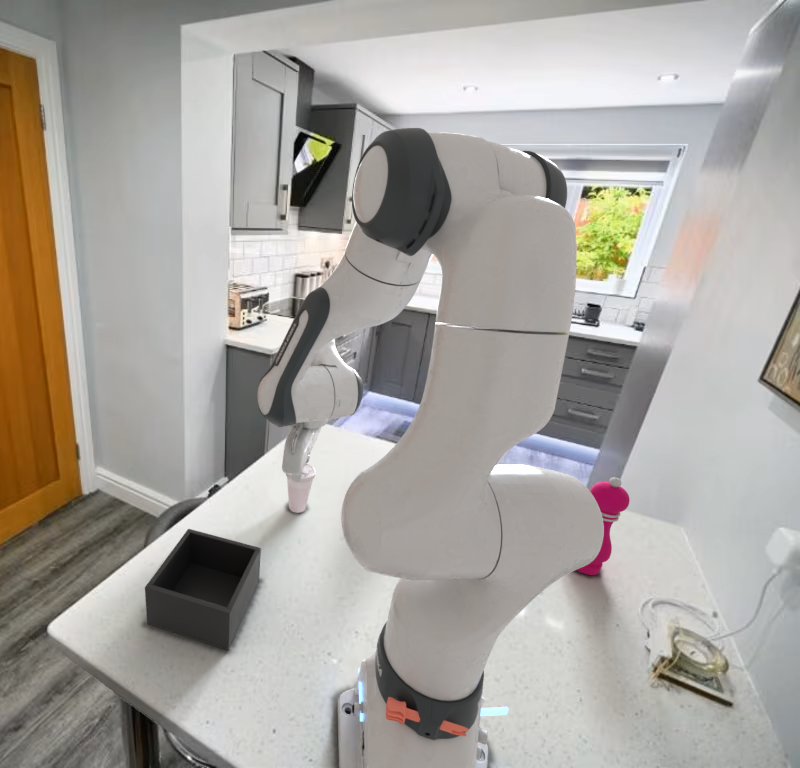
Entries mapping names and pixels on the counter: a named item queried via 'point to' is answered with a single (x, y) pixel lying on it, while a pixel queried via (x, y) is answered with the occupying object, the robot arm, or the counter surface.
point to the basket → (204, 588)
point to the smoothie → (300, 489)
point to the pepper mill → (607, 518)
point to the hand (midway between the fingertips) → (300, 469)
